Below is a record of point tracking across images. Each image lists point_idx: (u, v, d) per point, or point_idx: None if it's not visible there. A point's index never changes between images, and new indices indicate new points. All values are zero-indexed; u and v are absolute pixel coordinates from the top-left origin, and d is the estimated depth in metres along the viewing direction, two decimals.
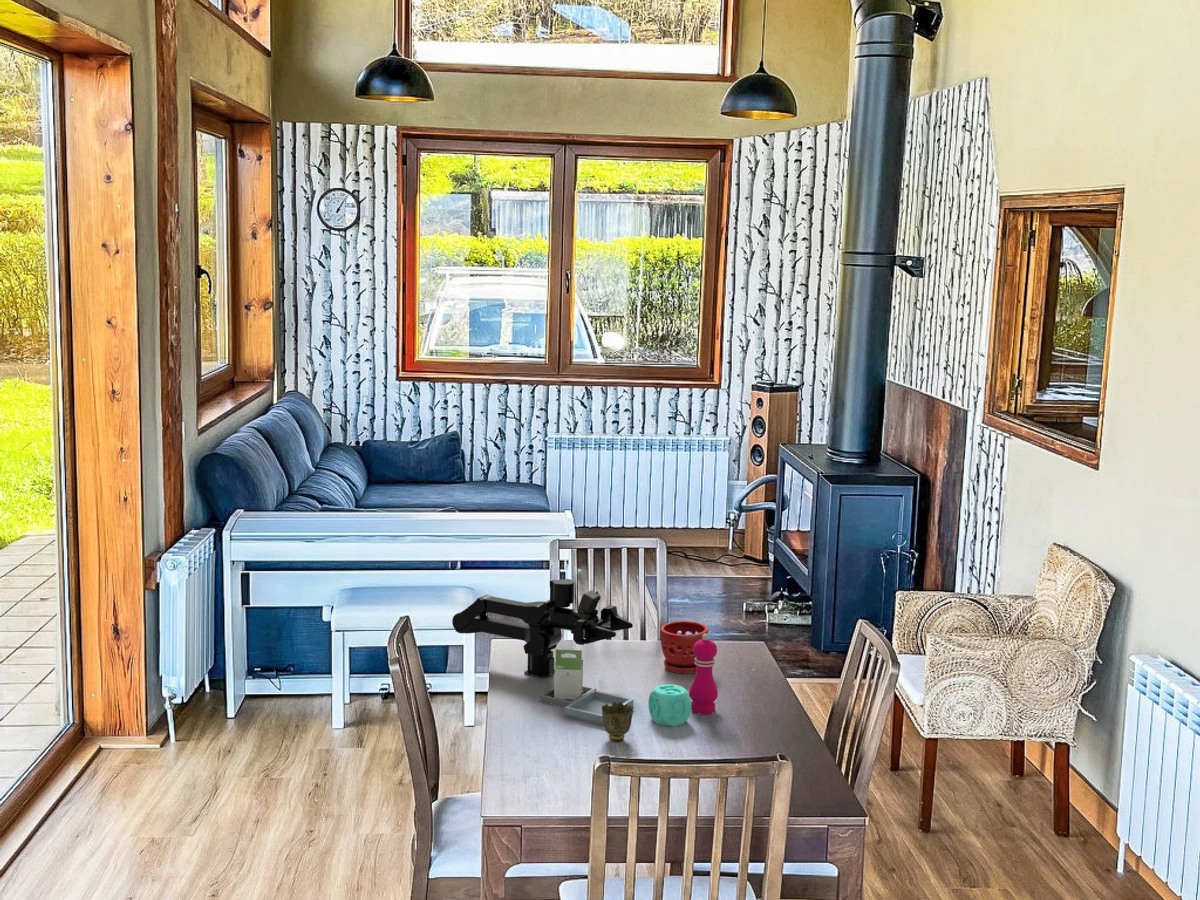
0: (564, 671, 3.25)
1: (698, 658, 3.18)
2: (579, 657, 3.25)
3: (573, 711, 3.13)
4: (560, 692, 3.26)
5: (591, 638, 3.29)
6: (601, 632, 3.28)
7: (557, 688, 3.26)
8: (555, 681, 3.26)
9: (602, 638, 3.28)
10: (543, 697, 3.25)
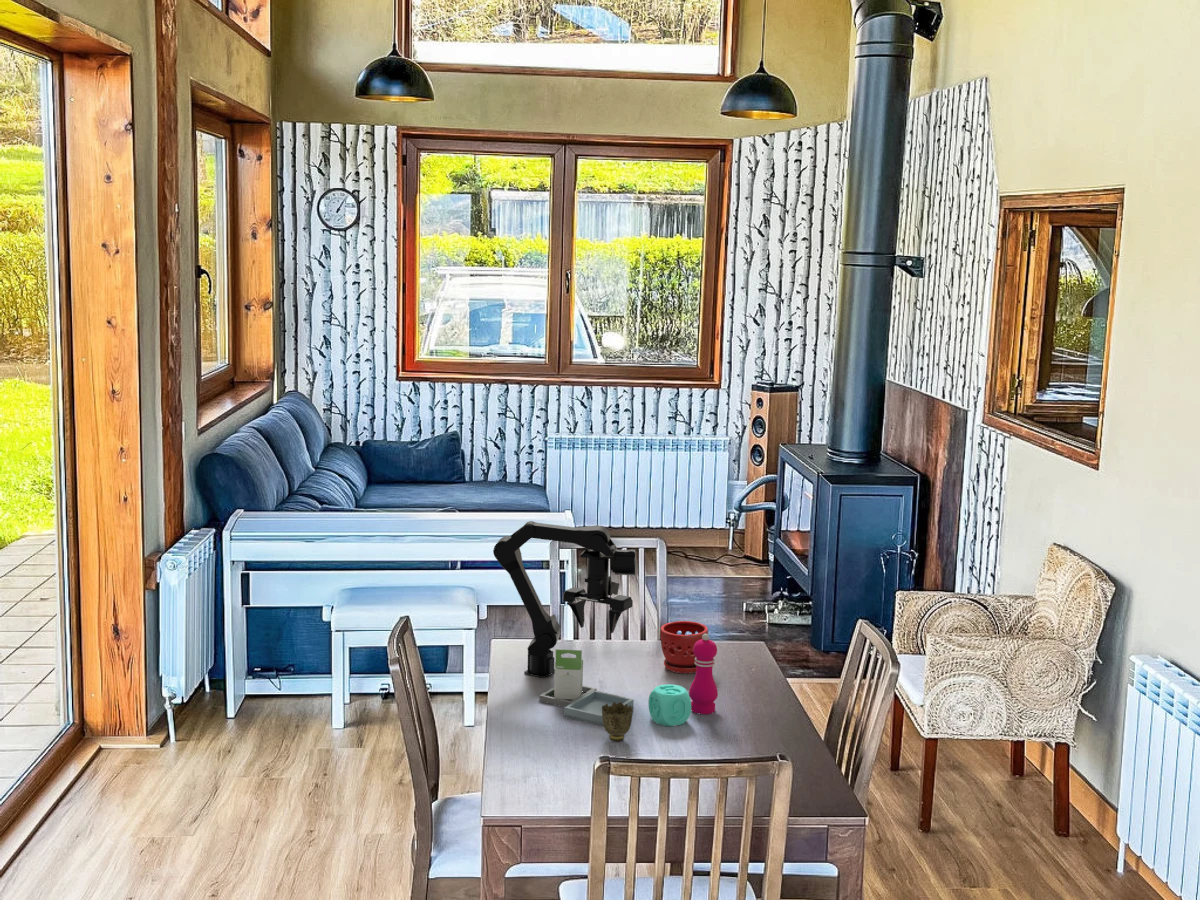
0: (564, 671, 3.25)
1: (698, 658, 3.18)
2: (579, 657, 3.25)
3: (573, 711, 3.13)
4: (560, 692, 3.26)
5: (615, 613, 3.37)
6: (616, 620, 3.40)
7: (557, 688, 3.26)
8: (555, 681, 3.26)
9: (613, 623, 3.38)
10: (543, 697, 3.25)
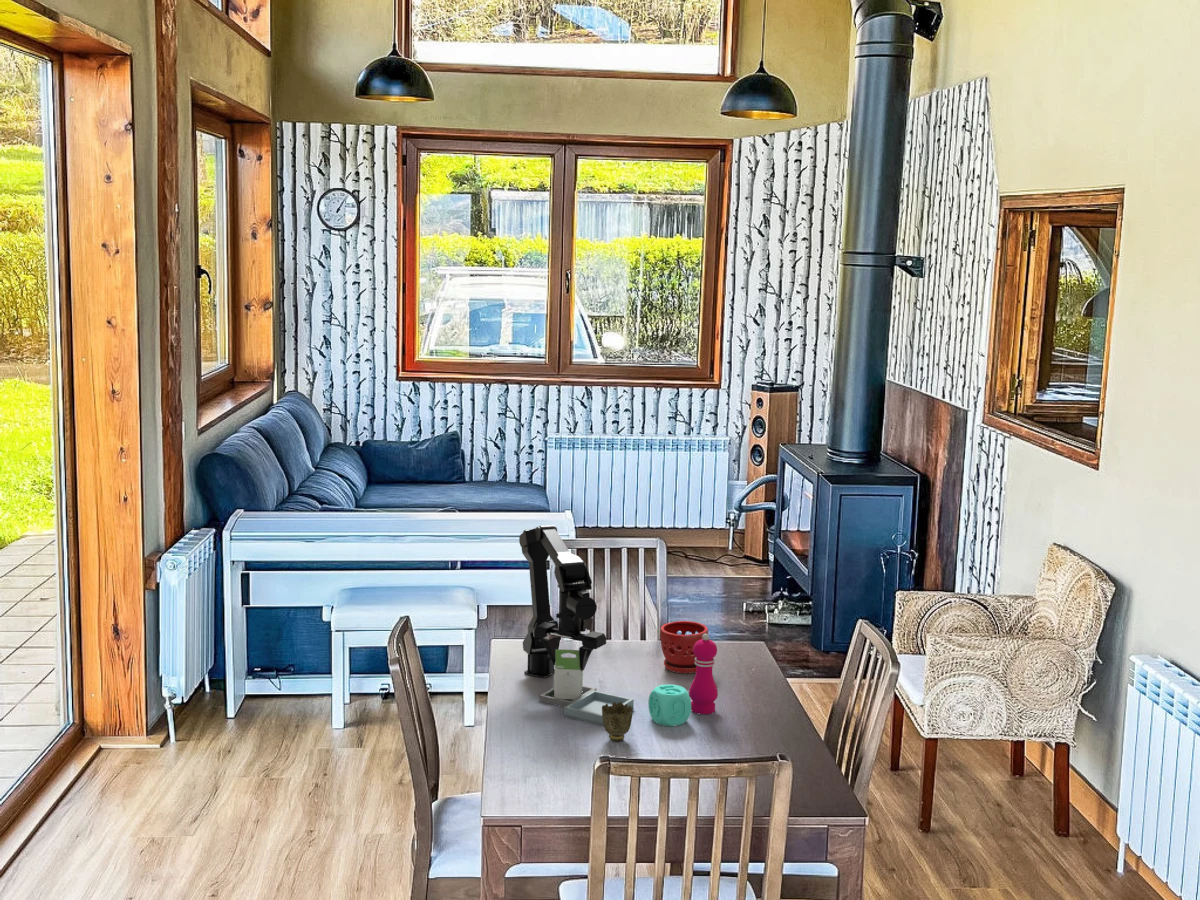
0: (564, 671, 3.25)
1: (698, 658, 3.18)
2: (579, 657, 3.25)
3: (573, 711, 3.13)
4: (560, 692, 3.26)
5: None
6: (587, 657, 3.24)
7: (557, 688, 3.26)
8: (555, 681, 3.26)
9: (583, 660, 3.23)
10: (543, 697, 3.25)
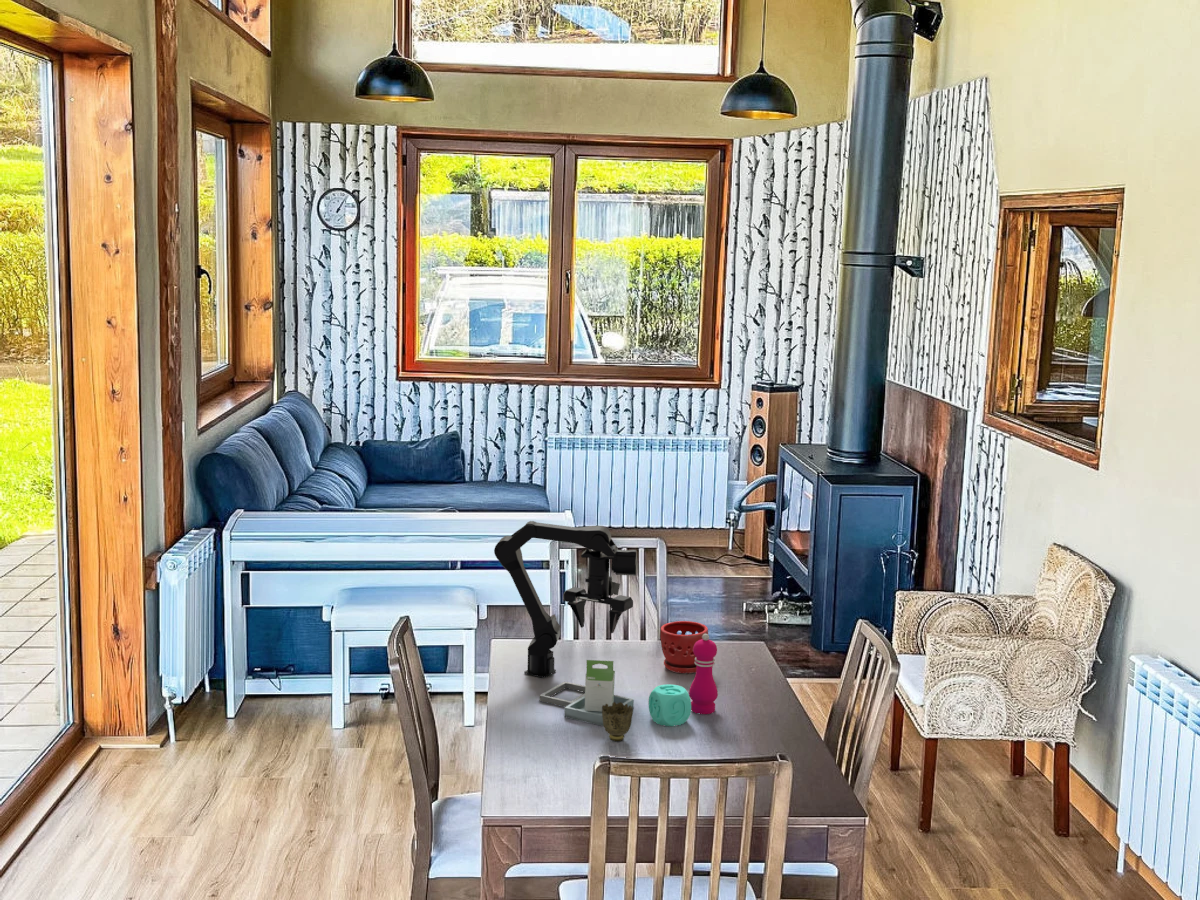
0: (596, 683, 3.15)
1: (698, 658, 3.18)
2: (611, 668, 3.15)
3: (573, 711, 3.13)
4: (591, 704, 3.16)
5: None
6: (616, 620, 3.40)
7: (588, 700, 3.16)
8: (586, 692, 3.16)
9: (613, 623, 3.38)
10: (543, 697, 3.25)
